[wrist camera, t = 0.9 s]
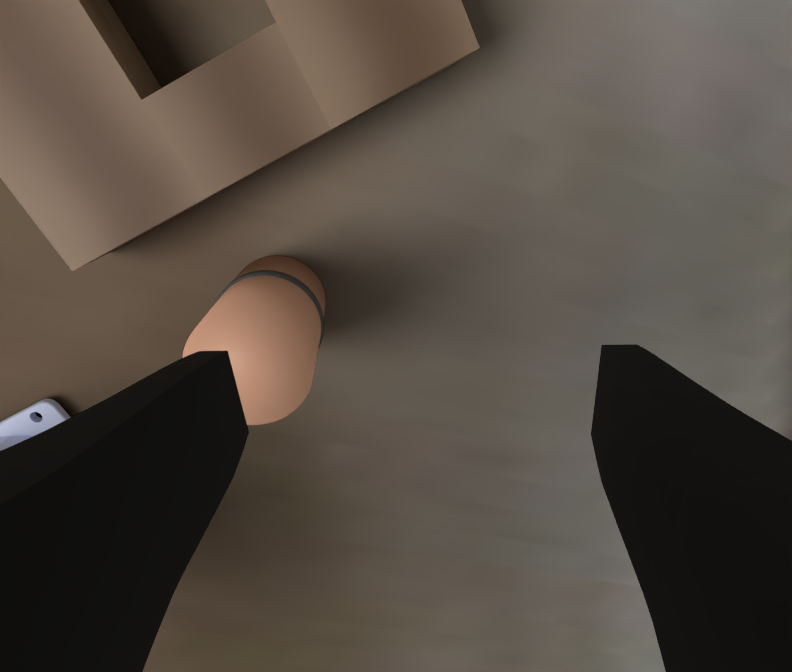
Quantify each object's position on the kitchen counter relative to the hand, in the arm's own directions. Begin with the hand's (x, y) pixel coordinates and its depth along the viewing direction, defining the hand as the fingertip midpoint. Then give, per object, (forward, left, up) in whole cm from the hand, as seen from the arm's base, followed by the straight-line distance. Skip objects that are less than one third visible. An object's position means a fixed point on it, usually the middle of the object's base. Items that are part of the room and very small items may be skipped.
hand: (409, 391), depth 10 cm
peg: (-5, 0, -13) cm, 14 cm away
